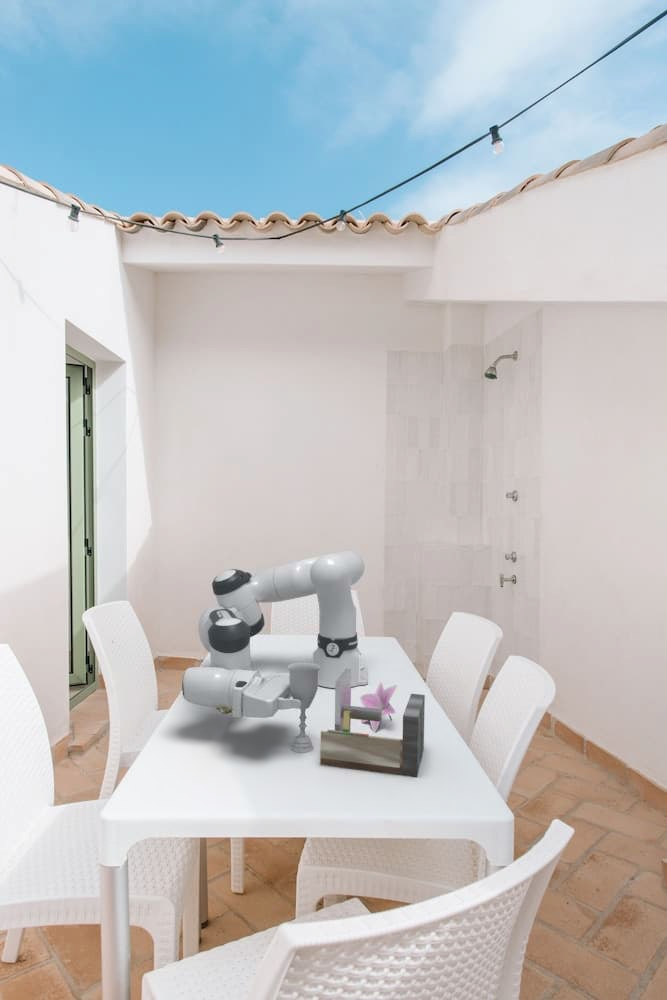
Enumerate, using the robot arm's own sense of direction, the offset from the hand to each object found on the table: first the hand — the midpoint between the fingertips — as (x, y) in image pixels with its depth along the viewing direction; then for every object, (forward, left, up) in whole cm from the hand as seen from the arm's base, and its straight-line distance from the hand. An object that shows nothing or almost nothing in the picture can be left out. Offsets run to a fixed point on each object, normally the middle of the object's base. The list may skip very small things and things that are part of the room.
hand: (307, 696), depth 133 cm
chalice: (0, -1, -12) cm, 12 cm away
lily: (-19, +13, -12) cm, 26 cm away
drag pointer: (+5, +10, -9) cm, 15 cm away
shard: (-20, -27, -12) cm, 36 cm away
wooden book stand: (0, +15, -11) cm, 19 cm away
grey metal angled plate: (+1, +12, -9) cm, 15 cm away
